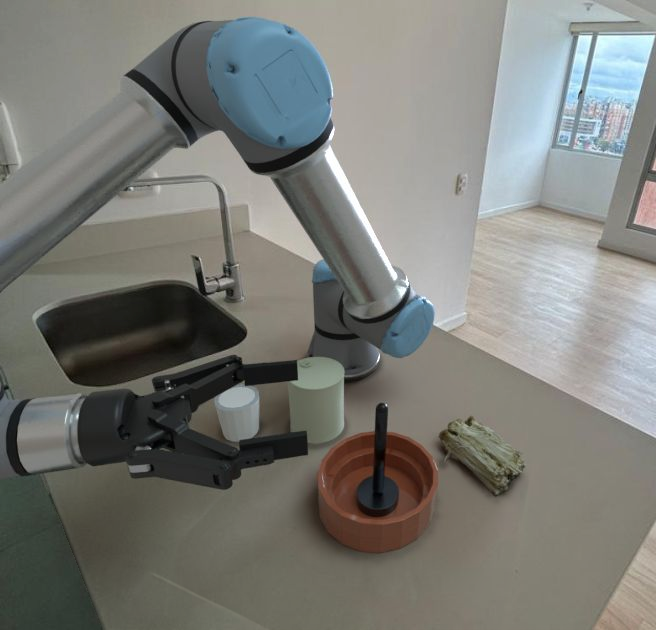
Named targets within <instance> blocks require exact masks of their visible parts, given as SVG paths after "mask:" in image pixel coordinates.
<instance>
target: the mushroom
mask: <svg viewBox="0 0 656 630" xmlns="http://www.w3.org/2000/svg"><path fill="white" fill-rule="evenodd" d="M438 439H439V440H440V442H441V443H442V445H443V448H444V450H445V451H446V456H445V457H444V459H443V462H444V463H445V462H446V461H447V459H449V458H450V459H453V460H455V461H458V462H461V464H462V465H464V466H466V468H467V469H469V471H471V473H472V474H473V475H474V476H476V478H477V479H479V481H480V482H482V483H483V485H484V486H485V487H486V489H488V490H489V492H492V493H494V495H495V496H499V494H501V493H504V492H507V491H508V490H509V485H510V484H511V482H512V481H513V480H515V479H516V478H517V477H518V476H520V475H522V473H523V471H524V469H525V468H526V467H527V464H525V462H526V461H525V459H524V458H522V455H523V454H524V453H523V452H521V451H519V449H518V448H517V447H516V448H514V446H513V445H511V444H509V443H507V442H506V441H505V440H504V439H503V438H502V437H501V436H500V435H499V434H498V433H496V432H495V431H494V430H493V429H492V428H491V427H489V426H487V425H486V426H485V425H483V423H482V422H480V421H479V422H478V420H477V419H476V418H475V417H474V416H473V415H470V416H468V417H467V419H465V420H462V419H461V418H457V419H454V420H452V421H450V422H449V423H448V424H447V428H445V429H443V430H441V431H440V432H439V434H438Z"/></svg>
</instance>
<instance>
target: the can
mask: <svg viewBox="0 0 656 630" xmlns="http://www.w3.org/2000/svg"><path fill="white" fill-rule="evenodd" d="M297 367H298V380H297V381H288V382H287V391H288V404H289V420H290V421H289V423H290V426H289V427H290V429H289V430H290V433H291V432H298V431H305V430H307V440H308V444H322V443H327V442H329V441H331V440H334V439H335V438H337V437H338V436H339V435H340V434H341V433H342V432H343V430H344V428H345V409H344V408H345V405H344V404H345V403H344V402H345V395H344V394H345V381H344V373H345V371H344V368H343V366H342V365H341V364H340V363H339V362H338V361H336V360H334V359H331V358H326V357H309V358H307V357H305V358H302V359H300V360H297Z"/></svg>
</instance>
